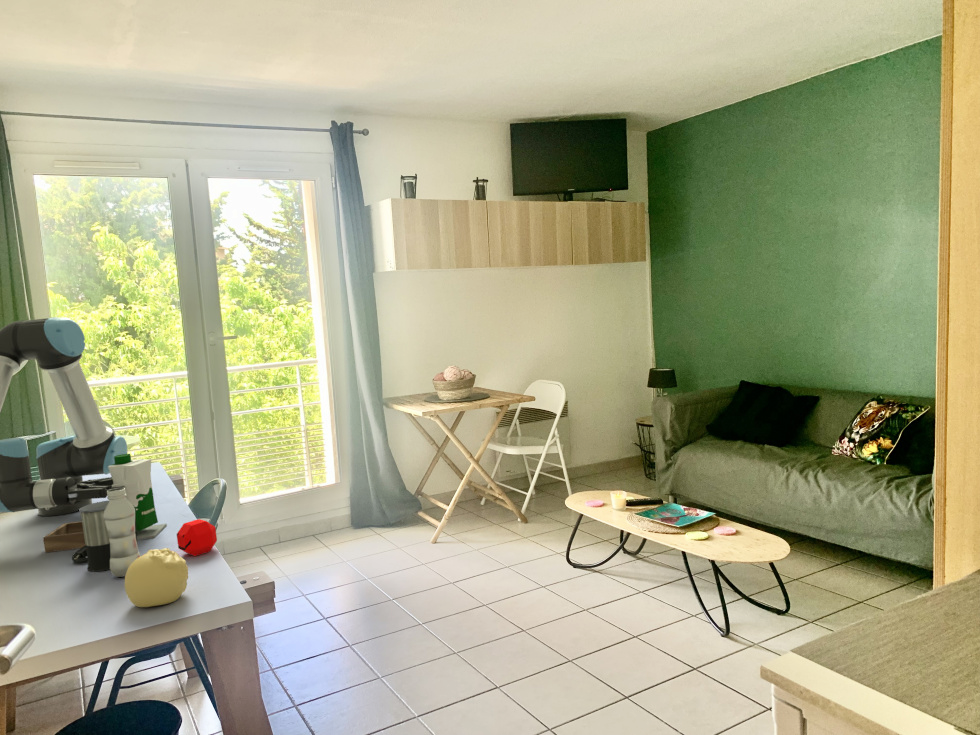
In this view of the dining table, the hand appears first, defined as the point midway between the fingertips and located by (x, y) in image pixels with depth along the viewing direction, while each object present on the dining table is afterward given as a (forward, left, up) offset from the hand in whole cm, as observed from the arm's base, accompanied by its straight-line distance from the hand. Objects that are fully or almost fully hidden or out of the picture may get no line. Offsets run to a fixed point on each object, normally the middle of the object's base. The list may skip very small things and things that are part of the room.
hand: (144, 482), depth 200 cm
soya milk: (0, -3, -12) cm, 13 cm away
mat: (0, -3, -14) cm, 14 cm away
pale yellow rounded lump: (+54, +18, -14) cm, 59 cm away
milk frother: (+22, -5, -14) cm, 27 cm away
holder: (0, -18, -14) cm, 23 cm away
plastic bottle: (+34, +5, -14) cm, 37 cm away
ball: (+24, +18, -14) cm, 33 cm away
